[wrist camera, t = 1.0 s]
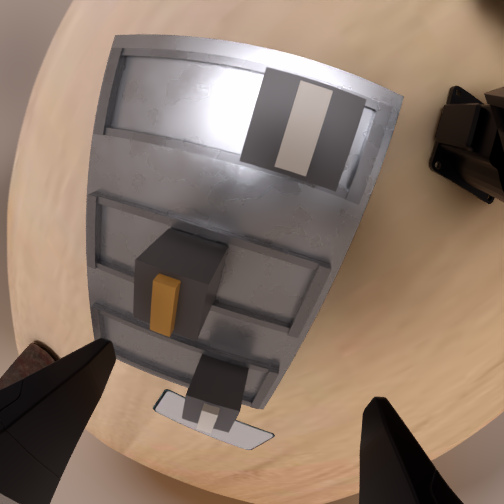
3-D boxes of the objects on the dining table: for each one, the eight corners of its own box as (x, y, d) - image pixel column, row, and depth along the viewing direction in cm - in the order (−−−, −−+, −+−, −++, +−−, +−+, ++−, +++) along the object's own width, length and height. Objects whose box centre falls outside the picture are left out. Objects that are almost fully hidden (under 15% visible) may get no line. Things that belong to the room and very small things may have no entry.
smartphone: (165, 388, 29) (276, 435, 30) (167, 385, 29) (276, 432, 31) (151, 409, 32) (249, 450, 33) (153, 406, 32) (250, 447, 34)
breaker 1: (249, 367, 22) (238, 419, 17) (238, 392, 24) (226, 439, 19) (202, 353, 22) (183, 402, 17) (196, 379, 24) (179, 424, 19)
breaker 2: (346, 106, 13) (371, 97, 8) (324, 173, 15) (338, 195, 10) (274, 83, 13) (264, 63, 8) (254, 151, 15) (235, 163, 10)
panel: (392, 99, 14) (408, 95, 12) (265, 394, 27) (262, 415, 24) (130, 40, 14) (108, 32, 12) (104, 337, 27) (92, 354, 24)
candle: (39, 332, 30) (-39, 428, 12) (74, 370, 32) (7, 472, 14) (28, 345, 33) (-37, 428, 15) (59, 378, 35) (2, 464, 17)
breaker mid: (228, 246, 18) (204, 292, 13) (215, 297, 19) (192, 349, 15) (169, 228, 18) (128, 266, 13) (162, 279, 19) (128, 324, 15)
